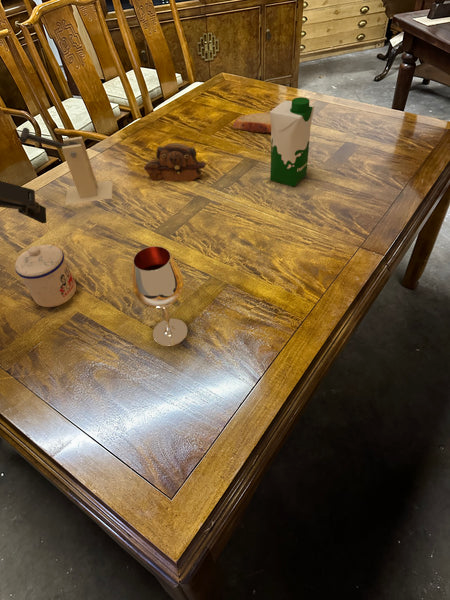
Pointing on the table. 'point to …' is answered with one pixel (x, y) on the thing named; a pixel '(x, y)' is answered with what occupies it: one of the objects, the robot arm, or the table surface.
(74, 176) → the tan upright plank
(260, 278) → the table surface
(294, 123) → the milk carton
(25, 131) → the lever
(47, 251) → the teacup with lid
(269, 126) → the slice of bread
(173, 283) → the wineglass
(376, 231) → the table surface
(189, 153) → the wooden carving
